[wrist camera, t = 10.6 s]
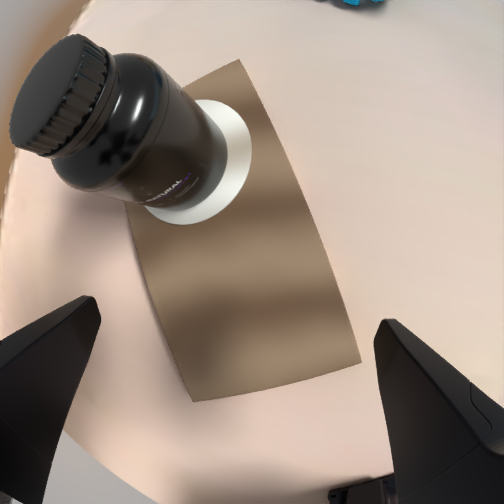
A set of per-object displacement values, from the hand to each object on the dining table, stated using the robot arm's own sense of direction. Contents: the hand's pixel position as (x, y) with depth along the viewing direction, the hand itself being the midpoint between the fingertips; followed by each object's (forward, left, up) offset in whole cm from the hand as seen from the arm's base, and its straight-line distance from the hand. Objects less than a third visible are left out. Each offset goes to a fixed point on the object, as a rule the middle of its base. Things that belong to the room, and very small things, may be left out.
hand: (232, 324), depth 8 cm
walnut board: (+5, +3, -10) cm, 12 cm away
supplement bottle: (+10, +3, -9) cm, 14 cm away
